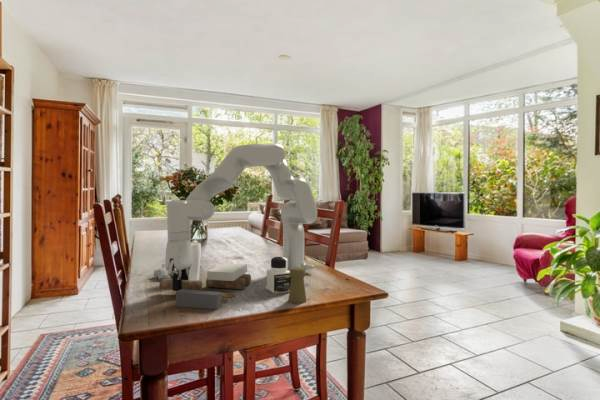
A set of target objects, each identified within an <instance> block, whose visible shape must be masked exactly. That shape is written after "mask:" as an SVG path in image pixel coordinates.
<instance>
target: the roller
mask: <svg viewBox="0 0 600 400" xmlns="http://www.w3.org/2000/svg"><path fill="white" fill-rule="evenodd" d="M202 283H203V282H202V281H201V280H198V281H192V280H182V289H185V290H198V291H202V287H203V284H202ZM159 289H160V290H162V291H163V290H165V291H173V284H172V279H162V280H159Z"/></svg>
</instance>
